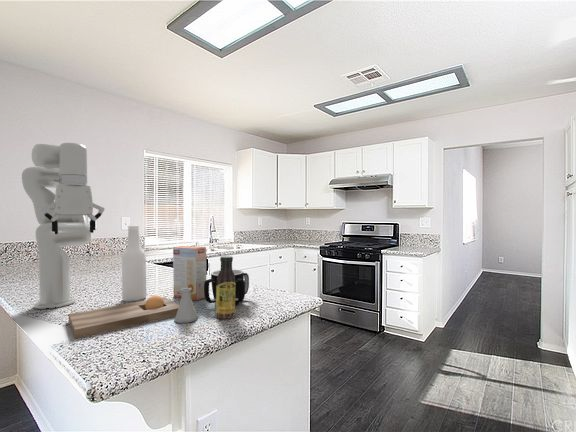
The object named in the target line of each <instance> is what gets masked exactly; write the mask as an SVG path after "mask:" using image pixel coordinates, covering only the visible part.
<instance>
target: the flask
mask: <svg viewBox="0 0 576 432" xmlns="http://www.w3.org/2000/svg"><path fill="white" fill-rule="evenodd" d="M180 291H181V293H182V296H181V298H180V303H179V304H178V305H179V308H178V311H177V314H176V316H174V320H173V322H174V323H178V324H187V323H189V322H190V323H192V322H194V321H197V320H198V318H199V315H198V313H197V310H196V308H195V306H194V303H193V300H191V295H190V291H191V288H183V289H181V290H180ZM190 323H189V324H190Z"/></svg>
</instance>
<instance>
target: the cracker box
mask: <svg viewBox="0 0 576 432" xmlns="http://www.w3.org/2000/svg"><path fill="white" fill-rule="evenodd" d="M172 255H173V256H172V261H173V262H172V265H173V266H172V268H173V297H175V298H180V299H181V296H182V293H181V291H180V290H181V289H183V288H191V291H190V295H191V300H192V301H199V300H203V299H205V296H204V283H205V281H206V280H207V247H206V246H192V245H190V246H189V245H181V246H173V247H172Z"/></svg>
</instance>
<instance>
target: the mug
mask: <svg viewBox="0 0 576 432" xmlns="http://www.w3.org/2000/svg"><path fill="white" fill-rule="evenodd" d="M220 270H221V269H220ZM220 270H216V271H213V272H211V273H210V278H209V279H208V278H207V279H206V281H205V283H204V296H205V298H204V299H205V300H206V302H207V303H208V304H214V303H215V304H216V285H217V276H218V274H219V272H220ZM232 271H233V273H234V275H235V306H236V305H239V304H240V303H243V301H244V299H245V297H246V296H245V295H246V294H247V293H248V290H249V287H250V278H249V277H250V276H249V274H248V273H246V272H244V270H241V269H232ZM210 283H211V288H212V295H213V298H212V299H211V297H210Z"/></svg>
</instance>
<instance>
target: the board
mask: <svg viewBox="0 0 576 432" xmlns="http://www.w3.org/2000/svg"><path fill="white" fill-rule="evenodd" d="M161 297H162V299H163V300H164V306H163V307H159V308H154V309H149V310H146V307H145V303H146V301H147V299H146V300H145V299H144V300H140V301H134V302H127V303H123V304H117V305H113V306H112V305H111V306H106V307H101V308H95V309H90V310H83V311H78V312H72V313H68V323H69V326H70V330H71V331H72V335H73V336H74V339H79V338H84V337H89V336H92V335H97V334H101V333H106V332H110V331H115V330H120V329H123V328H128V327H132V326H138V325H142V324H146V323H150V322H151V323H152V322H156V321H161V320H165V319H168V318H172V317H173V318H175V317H176V314H177V311H178V308H179V305H180V304H178V303H175V302H174V301H172V300H170V299H169V298H167V297H165V296H161Z"/></svg>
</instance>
